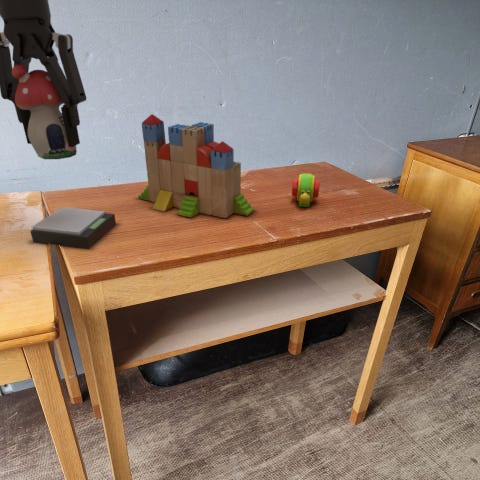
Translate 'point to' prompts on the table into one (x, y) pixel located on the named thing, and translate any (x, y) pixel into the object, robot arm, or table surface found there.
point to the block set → (191, 171)
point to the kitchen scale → (73, 227)
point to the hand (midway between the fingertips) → (53, 143)
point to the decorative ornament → (42, 113)
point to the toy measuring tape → (305, 189)
